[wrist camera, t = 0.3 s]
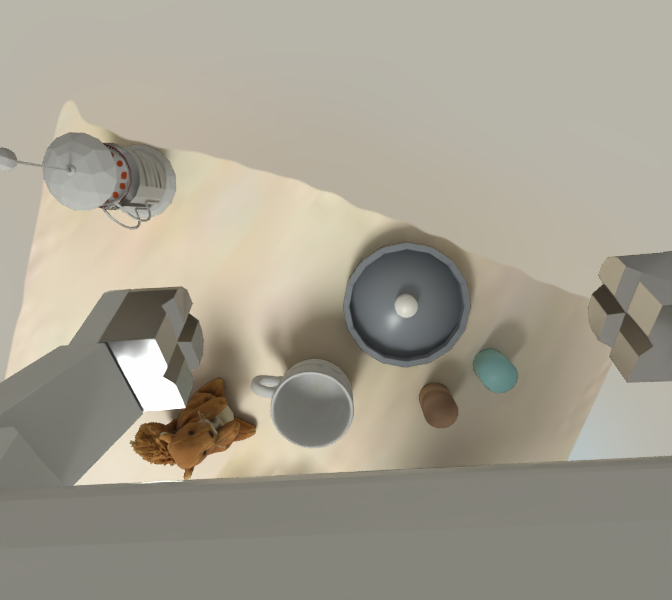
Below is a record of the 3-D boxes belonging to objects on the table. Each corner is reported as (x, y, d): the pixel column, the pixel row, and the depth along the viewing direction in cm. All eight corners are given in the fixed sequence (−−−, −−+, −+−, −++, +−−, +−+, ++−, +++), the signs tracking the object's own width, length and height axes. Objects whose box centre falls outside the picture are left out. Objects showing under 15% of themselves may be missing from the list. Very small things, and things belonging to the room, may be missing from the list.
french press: (148, 129, 60) (3, 68, 35) (198, 205, 62) (91, 196, 37) (91, 170, 61) (-87, 139, 37) (141, 243, 63) (2, 260, 38)
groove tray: (488, 318, 62) (493, 323, 60) (387, 382, 65) (388, 388, 62) (422, 218, 60) (425, 218, 58) (321, 287, 63) (319, 290, 60)
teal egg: (511, 368, 64) (524, 381, 59) (483, 385, 64) (494, 399, 59) (494, 342, 63) (506, 353, 58) (466, 360, 64) (475, 371, 59)
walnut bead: (456, 401, 65) (464, 416, 60) (429, 417, 65) (435, 434, 61) (439, 376, 64) (446, 390, 59) (412, 393, 65) (417, 407, 60)
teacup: (368, 376, 65) (369, 399, 57) (329, 436, 67) (325, 465, 59) (284, 327, 64) (274, 342, 56) (248, 388, 66) (233, 412, 58)
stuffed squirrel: (262, 429, 67) (239, 480, 54) (180, 464, 69) (139, 521, 56) (231, 370, 66) (200, 408, 53) (148, 407, 67) (98, 452, 54)
